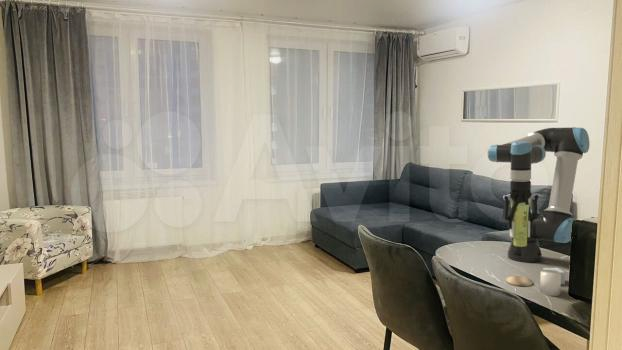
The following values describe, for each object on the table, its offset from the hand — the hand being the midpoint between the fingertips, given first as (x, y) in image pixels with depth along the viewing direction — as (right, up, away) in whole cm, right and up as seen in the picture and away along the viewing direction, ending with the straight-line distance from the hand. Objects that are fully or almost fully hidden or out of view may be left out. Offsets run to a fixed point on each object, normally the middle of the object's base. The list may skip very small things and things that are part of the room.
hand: (519, 236), depth 186 cm
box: (+15, -19, +2) cm, 24 cm away
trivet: (+1, -19, +2) cm, 19 cm away
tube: (0, -4, 0) cm, 4 cm away
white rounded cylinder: (+7, -20, -10) cm, 24 cm away
